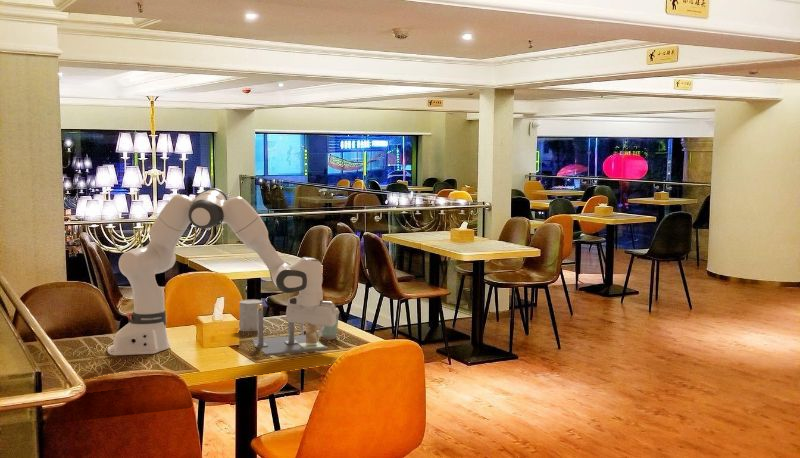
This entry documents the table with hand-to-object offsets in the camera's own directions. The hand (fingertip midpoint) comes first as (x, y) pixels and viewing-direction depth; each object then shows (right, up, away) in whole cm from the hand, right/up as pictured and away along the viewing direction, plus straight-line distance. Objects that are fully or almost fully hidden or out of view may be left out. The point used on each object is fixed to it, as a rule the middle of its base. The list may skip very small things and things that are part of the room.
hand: (311, 335), depth 316 cm
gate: (-14, -5, +3) cm, 15 cm away
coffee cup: (+5, -3, +17) cm, 18 cm away
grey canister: (-28, -2, +30) cm, 41 cm away
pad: (0, -5, +1) cm, 5 cm away
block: (0, -3, 0) cm, 3 cm away
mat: (-9, -4, +4) cm, 11 cm away
